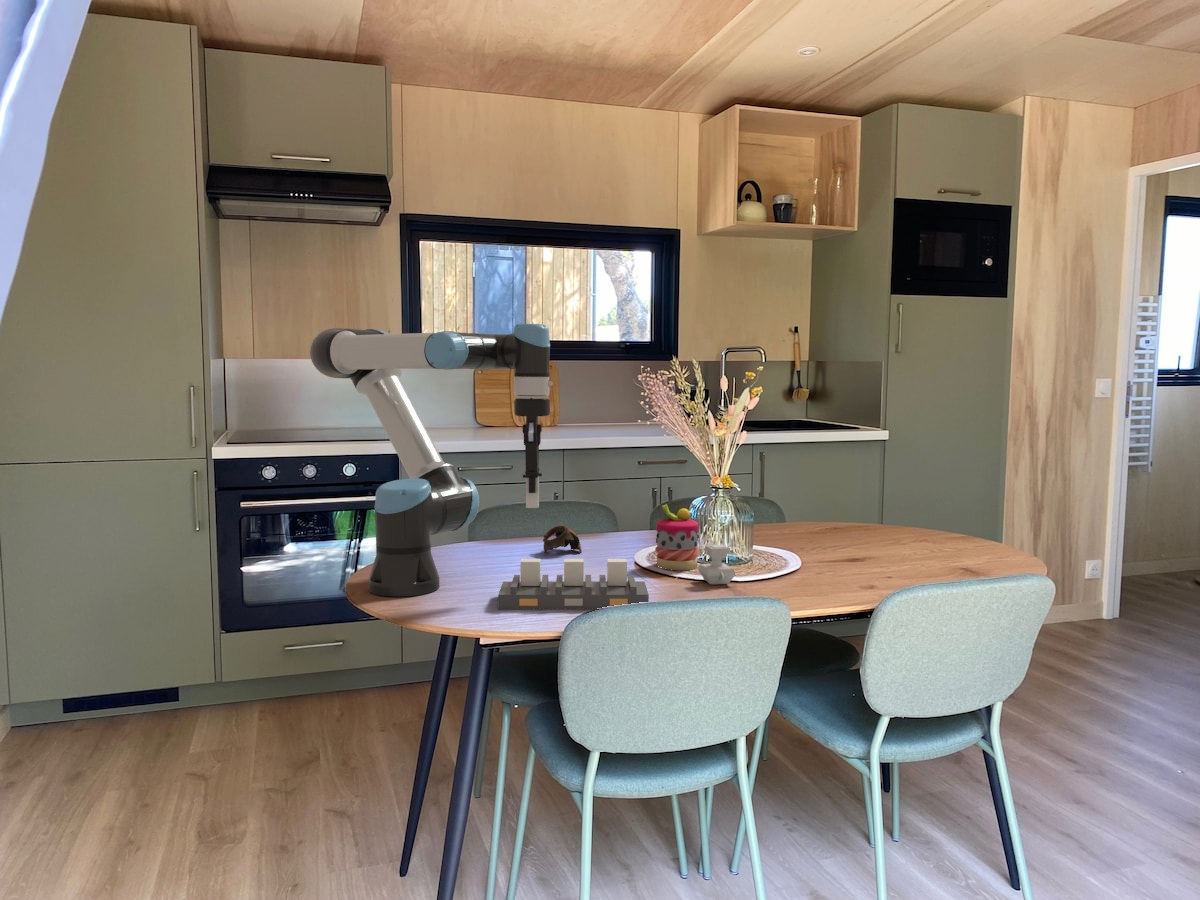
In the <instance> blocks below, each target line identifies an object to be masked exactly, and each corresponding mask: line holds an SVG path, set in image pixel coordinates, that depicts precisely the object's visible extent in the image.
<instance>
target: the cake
mask: <svg viewBox="0 0 1200 900" xmlns="http://www.w3.org/2000/svg"><path fill="white" fill-rule="evenodd" d="M661 509H662V511H663V512H664V513H665V515H666V516H667V517H668V518H663V519H660V520H657V522H656V526H655V527H656V528H655V531H656V532H657V533H656V539H655V543H656V545H657V546H656V547H655V551H656V552H657V554H656V566H657V565H658V566H659V567H662V568H666V569H672V570H686V571H693V570H695V569H697V568H698V556H699V554H700V549H699V546H698V542H699V538H700V535H699V532H700V531H699V530H700V529H699V523H698V522H697V521H696V520H693V519H691V518H690V516H691V513H690V511H689V509H687V508H680V509H679V510H678V511H677V513H676V515H675V513H672V512H670V510H669V506H668V504H667V503H665V504H664V505H663V504H662V505H661ZM672 570H671V571H672Z"/></svg>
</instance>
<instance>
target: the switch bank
mask: <svg viewBox="0 0 1200 900" xmlns="http://www.w3.org/2000/svg"><path fill="white" fill-rule="evenodd" d="M598 576H599V578H598V581H597V580H596V581H594V580H593V581H592V574H585V575H584V579H585V581H584V585H583V586H564V580H563V579H564V578H563V577H564V574H557V575H556V578H555V579H556V580H555V581H549V574H542V575H541V583H540V586H521V574H514V575H513V577H512V581H502V583H501V586H500V589H499V592H498V595H497V597H498V599H497V600H498V604H497V607H498V608H497V609H498V610H598V609H597V608H602V607H607V606H614V605H622V604H631V603H639V602H650V601H649V599H650V598H649V597H650V596H649V591H648V588H647V585H646V582H645V581H637V580H636V578H635V576H634V574H627V586H608V585H607V577H606V574H599V575H598Z"/></svg>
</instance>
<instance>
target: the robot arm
mask: <svg viewBox="0 0 1200 900" xmlns="http://www.w3.org/2000/svg"><path fill="white" fill-rule="evenodd" d="M550 341H551V340H550V330H549V327H548V325H547V324H542V323H518V324H515V325H514V328H513V333H509V334H507V333H503V334H502V333H501V334H500V333H474V332H473V333H472V332H457V331H448V330H447V331H446V330H444V331H438V332H420V333H419V332H418V333H417V332H416V333H415V332H413V333H411V332H410V333H389V332H387V331H383V330H378V329H374V328H368V329H357V328H342V327H334V328H328V329H325V330H322V331H321V332H319V333H318V334H317V335H316V336H315V337H314V338H313V340H312V342H311V345H310V351H309V356H310V361H311V363H312V365H313V366H314V367H315V369H316V370H317V371H318V372H319V373H320V374H322V375H324V376H326V377H328V378H331V379H332V378H333V379H350V380H351V382H352V384H353V386H354V387H355V389H356V392H358V394H361V395H366V396H367V398H368V400H369V402H370V405H371V407H372V408H373V410H374V411H375V414H376V416H377V418H378V419H379V421H380V423H381V425H382V428H383V429H384V431H385V433H386V435H387V437H388V439H389V441H390V443H391V445H392V447H393V449H394V450H395V452H396V454H397V457H398V458H399V461H401V464H402V466H403V468H404V470H405V471H406V474H407V476H408V477H409V478H404V479H395V480H392V481H387V482H385V483H383V484H381V485H380V486H378V488H377V489H376V491H375V502H374V506H373V507H374V516H375V517H374V519H375V521H374V522H375V551H376V552H375V557H374V561H373V565H372V567H371V571H370V574H369V577H368V589H367V590H368V592H370V593H371V594H373V595H377V596H383V597H412V596H413V597H414V596H419V595H426V594H429V593H432V592H435V591H436V590H438V589H439V588H440V575H439V572H438V569H437V566H436V563H435V560H434V557H433V554H432V548H431V547H432V545H431V544H432V543H431V542H432V536H433V535H437V534H443V533H446V532H455V531H457V530H459V529H461V528H462V529H463V528H465V527H467V526H469V525H470V524H472V522H473V521H474V520H475V518H476V517H477V515H478V512H479V510H478V509H479V507H480V495H479V491H478V489H477V486H476V485H475V484H474V482H472V481H471V480H470V479H469V478H466V477H463V476H461V477H460V476H459V474H458V472H457V471H456V469H455V466H454V465H453V464H451V463H446V462H444V460H443V458H442V456H441V455H440V453H439V450H438V449H437V446H436V445H435V443H434V441H433V440H432V438H431V435H430V434H429V432H428V430H427V428H426V426H425V424H424V422H423V420H422V418H421V416H420V415H419V413H418V412H417V409H416V407H415V405H414V404H413V402H412V400H411V398H410V396H409V394H408V392H407V390H406V389H405V387H404V385H403V383H402V381H401V379H400V378H401V375H402V373H403V370H446V371H447V370H483V371H484V370H486V371H488V370H513V373H514V375H513V376H514V377H513V395H514V396H515V397H516V398H515V399H514V409H513V411H514V412H513V413H514V415H515V416H517V417H526V418H525V424H524V423H523V424H522V434H523V446H524V448H525V472H524V474H522V478H523V479H524V478H525V508H526V509H539V508H540V507H539V506H540V477H543V473H542V472H540V467H539V466H540V464H539V463H540V461H539V460H540V459H539V458H540V445H541V441H542V440H541V437H542V436H541V435H542V429H543V425H542V424H540V423H539V417H548V416H550V413H551V410H550V409H551V401H550V400H551V399H550V398H547V397H548V396H549V395H550V387H552V386H553V381H550V356H551V355H550V353H551V351H550V350H551V342H550Z"/></svg>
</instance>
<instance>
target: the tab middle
mask: <svg viewBox="0 0 1200 900" xmlns="http://www.w3.org/2000/svg"><path fill="white" fill-rule="evenodd" d="M563 562H564V563H563V567H564V568H563V577H564V578H563V579H564V580H563V581H564V586H583V585H584V579H585V575H584V574H585V573H584V569H585V568H584V566H585V565H584V562H585V561H584V558H564V559H563Z"/></svg>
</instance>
